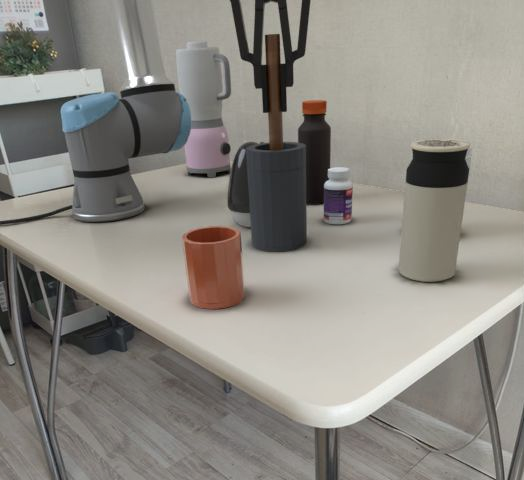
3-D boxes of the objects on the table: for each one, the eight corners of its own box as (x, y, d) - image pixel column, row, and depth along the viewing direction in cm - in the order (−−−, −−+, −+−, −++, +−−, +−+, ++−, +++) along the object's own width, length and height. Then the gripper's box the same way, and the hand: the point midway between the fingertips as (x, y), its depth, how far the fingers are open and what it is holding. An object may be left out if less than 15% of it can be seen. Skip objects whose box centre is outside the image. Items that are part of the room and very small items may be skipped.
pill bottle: (350, 225, 100) (352, 172, 95) (322, 225, 101) (322, 172, 96) (352, 217, 105) (354, 166, 100) (325, 217, 106) (325, 166, 101)
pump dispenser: (289, 218, 106) (287, 137, 99) (268, 233, 98) (264, 146, 91) (244, 214, 110) (238, 136, 103) (219, 229, 102) (212, 145, 95)
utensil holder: (250, 252, 90) (243, 153, 82) (253, 235, 98) (248, 143, 90) (307, 251, 89) (306, 150, 81) (306, 233, 97) (305, 140, 89)
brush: (264, 203, 88) (256, 35, 76) (265, 196, 92) (258, 35, 80) (291, 202, 87) (287, 33, 76) (291, 195, 91) (287, 33, 80)
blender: (178, 176, 148) (161, 43, 132) (205, 167, 157) (192, 42, 141) (223, 180, 140) (211, 40, 125) (249, 171, 149) (241, 39, 133)
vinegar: (326, 205, 113) (327, 102, 104) (295, 204, 115) (293, 103, 106) (332, 197, 119) (334, 99, 109) (303, 196, 121) (302, 100, 111)
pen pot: (185, 309, 71) (177, 244, 67) (195, 287, 78) (187, 226, 73) (242, 308, 71) (237, 243, 66) (246, 286, 77) (242, 225, 73)
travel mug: (421, 287, 73) (435, 150, 65) (387, 269, 80) (396, 142, 71) (466, 276, 76) (486, 143, 67) (430, 259, 82) (444, 136, 74)
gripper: (207, -81, 69) (223, 116, 80) (326, -91, 68) (325, 111, 79) (215, -70, 75) (229, 111, 87) (323, -78, 74) (323, 106, 86)
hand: (275, 111), depth 83 cm, fingers closed on brush, 2 cm apart
